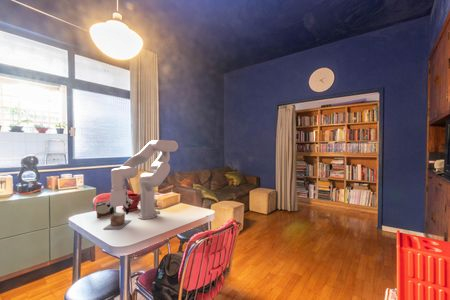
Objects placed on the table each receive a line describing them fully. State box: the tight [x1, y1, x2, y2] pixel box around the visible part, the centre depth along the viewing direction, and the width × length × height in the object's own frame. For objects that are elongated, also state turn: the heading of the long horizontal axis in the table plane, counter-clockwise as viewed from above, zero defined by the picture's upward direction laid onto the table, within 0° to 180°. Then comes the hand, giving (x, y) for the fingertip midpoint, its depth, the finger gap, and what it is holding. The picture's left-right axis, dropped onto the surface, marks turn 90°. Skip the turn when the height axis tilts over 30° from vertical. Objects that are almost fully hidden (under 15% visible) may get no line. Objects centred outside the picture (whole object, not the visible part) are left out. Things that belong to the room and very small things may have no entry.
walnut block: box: [110, 212, 126, 226], centre depth 137 cm, size 6×6×6 cm
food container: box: [94, 200, 112, 219], centre depth 156 cm, size 12×6×10 cm, turn 146°
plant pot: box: [121, 193, 140, 212], centre depth 171 cm, size 13×13×12 cm
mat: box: [103, 219, 132, 230], centre depth 137 cm, size 10×15×1 cm, turn 1°
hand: (119, 213), depth 138 cm, fingers open, 9 cm apart
